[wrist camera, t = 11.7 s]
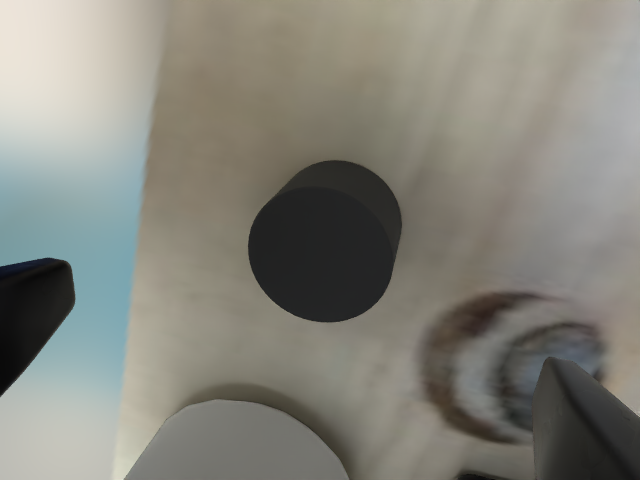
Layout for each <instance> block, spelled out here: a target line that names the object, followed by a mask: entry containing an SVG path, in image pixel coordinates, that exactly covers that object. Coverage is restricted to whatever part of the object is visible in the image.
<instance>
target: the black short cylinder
mask: <svg viewBox="0 0 640 480" xmlns="http://www.w3.org/2000/svg"><path fill="white" fill-rule="evenodd" d="M401 227H402V222H401V213H400V209H399V206H398V203H397V200H396V198H395V196H394V194H393V193H392V191H391V190H390V188H389V187H388V186H387V184H386V183H385V182H384V181H383V180H382V179H381V178H380V177H379V176H377V175H376V174H375V173H373V172H372V171H370V170H369V169H367V168H365V167H363V166H360V165H357V164H355V163H351V162H346V161H325V162H320V163H316V164H313V165H311V166H309V167H307V168H305V169H303V170H302V171H300V172H299V173H298V174H297V175H295V176H294V177H293V178H292V179H291V180H290V181H289V182H288V183H287V184H286V185H285V186H284V187H283V188H282V189H281V190H280V191H279V192H278V193H277V194H276V195H275V196H274V197H273V198H272V199H271V200H270V201H269V202H268V203H267V204H266V205H265V206H264V207H263V208H262V209H261V211H260V212H259V213H258V215H257V216H256V218H255V220H254V222H253V225H252V227H251V230H250V234H249V241H248V255H249V260H250V265H251V268H252V271H253V274H254V276H255V278H256V280H257V282H258V283H259V285H260V287H261V288H262V289H263V291H264V292H265V293H266V294H267V295H268V296H269V297H270V299H271V300H272V301H274V302H275V303H276V304H277V305H278V306H280V307H281V308H283V309H284V310H286V311H287V312H289V313H291V314H293V315H295V316H298V317H301V318H303V319H307V320H311V321H316V322H339V321H344V320H348V319H351V318H354V317H356V316H358V315H360V314H362V313H364V312H366V311H367V310H368V309H370V308H371V307H372V306H373V305H375V304H376V303H377V302H378V300H379V299H380V298H381V297H382V296H383V294H384V292H385V291H386V289H387V287H388V284H389V282H390V279H391V275H392V271H393V266H394V262H395V257H396V253H397V248H398V244H399V239H400V235H401Z"/></svg>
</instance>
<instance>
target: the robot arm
mask: <svg viewBox="0 0 640 480" xmlns="http://www.w3.org/2000/svg"><path fill="white" fill-rule="evenodd" d="M74 304H75V291H74V282H73V274H72V269H71V266H70V264H69V263H68V262H67V261H64V260H59V259H54V258H43V259H37V260H32V261H27V262H22V263H17V264H12V265H6V266H1V267H0V397H1V396H2V395H3V394H4V392H5V391H6V390H7V389H8V388H9V387H10V386H11V385H12V384H13V383H14V382H15V381H16V380H17V379H18V377H19V376H20V375H21V374H22V373H23V372H24V371H25V370H26V368H27V367H28V366H29V365H30V363H31V362H32V361H33V360H34V359H35V357H36V356H37V355H38V353H39V352H40V351H41V349H42V348H43V347H44V345H45V344H46V343H47V341H48V340H49V339H50V338H51V336H52V335H53V334H54V333H55V331H56V330H57V329H58V327H59V326H60V325H61V324H62V322H63V321H64V320H65V318H66V317H67V316H68V314H69V313H70V312H71V310H72V309H73V307H74ZM532 425H533V441H534V457H535V474H536V480H640V417H638V416H637V415H636V414H635V413H634V412H633V411H631V410H630V409H629V408H628V407H627V406H626V405H624V404H623V403H622V402H621V401H620V400H618V399H617V398H616V397H615V396H614V395H613V394H611V393H610V392H609V391H608V390H607V389H606V388H604V387H603V386H602V385H601V384H600V383H599V382H597V381H596V380H595V379H594V378H593V377H592V376H590V375H589V374H588V373H587V372H586V371H584V370H583V369H582V368H581V367H580V366H579V365H577V364H576V363H575V362H573V361H571V360H565V359H560V358H555V357H548V358H547V359H546V360H545V361H544V363H543V366H542V369H541V372H540V375H539V379H538V382H537V385H536V388H535V391H534V394H533V398H532ZM457 480H494V479H490V478H486V477H482V476H478V475H472V474H466V475H462V476H460V477H459V478H458V479H457Z"/></svg>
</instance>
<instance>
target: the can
mask: <svg viewBox="0 0 640 480" xmlns="http://www.w3.org/2000/svg"><path fill="white" fill-rule="evenodd" d="M124 480H350V479H349V477H348V475H347V473H346V471H345V469H344V467H343V465H342V463H341V461H340V459H339V458H338V457H337V456H336V455H335V454H334V453H333V451H332V450H331V449H330V448H329V447H328V446H327V445H326V444H325V443H324V442H323V441H322V440H321V439H320V438H319V437H318V435H317V434H316V433H314V432H312V431H311V430H310V429H309V428H308V427H307V426H306V425H304V424H303V423H301V422H300V421H298V420H296V419H295V418H293V417H292V416H290V415H289V414H287V413H286V412H283V411H280V410H278V409H275V408H272V407H269V406H266V405H263V404H260V403H252V402H244V401H232V400H219V399H215V400H211V401H206V402H202V403H197V404H192V405H188V406H186V407H185V408H183V409H182V410H180V411H179V412H177V413H176V414H174V415H172V416H171V417H169V418H168V419H166V421H165V422H164V424H163V425H162V426H161V428H160V429H159V431H158V432H157V433H156V435H155V436H154V438H153V439H152V440H151V442H150V443H149V445H148V446H147V447H146V449H145V450H144V452H143V453H142V454H141V456H140V457H139V459H138V460H137V461H136V463H135V464H134V466H133V467H132V468H131V470H130V471H129V473H128V474H127V475H126V477H125V478H124Z"/></svg>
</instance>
